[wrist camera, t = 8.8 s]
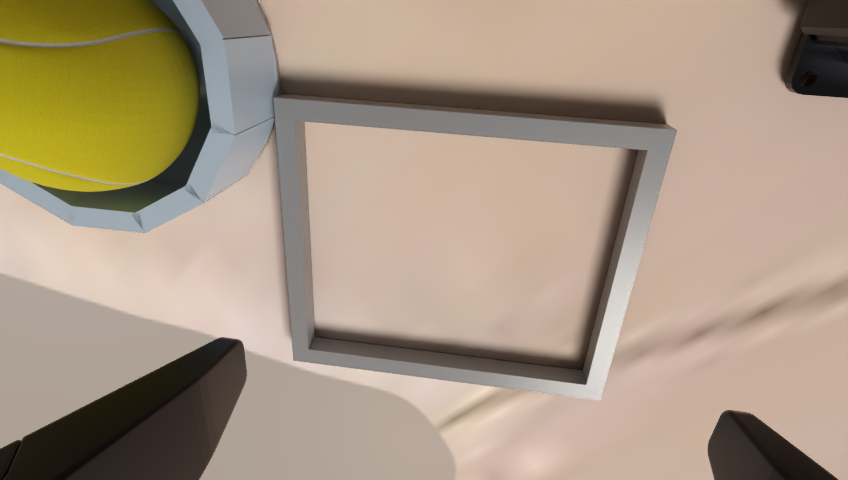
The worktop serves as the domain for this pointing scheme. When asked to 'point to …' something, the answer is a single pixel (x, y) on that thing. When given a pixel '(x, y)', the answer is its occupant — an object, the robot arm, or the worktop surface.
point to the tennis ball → (93, 92)
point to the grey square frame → (475, 122)
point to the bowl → (214, 131)
